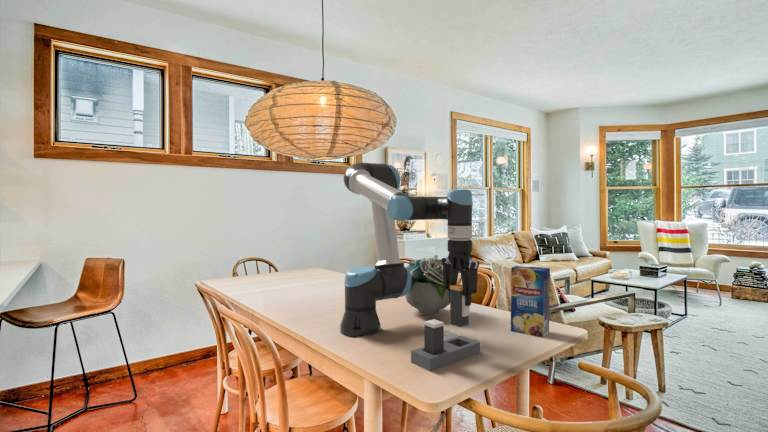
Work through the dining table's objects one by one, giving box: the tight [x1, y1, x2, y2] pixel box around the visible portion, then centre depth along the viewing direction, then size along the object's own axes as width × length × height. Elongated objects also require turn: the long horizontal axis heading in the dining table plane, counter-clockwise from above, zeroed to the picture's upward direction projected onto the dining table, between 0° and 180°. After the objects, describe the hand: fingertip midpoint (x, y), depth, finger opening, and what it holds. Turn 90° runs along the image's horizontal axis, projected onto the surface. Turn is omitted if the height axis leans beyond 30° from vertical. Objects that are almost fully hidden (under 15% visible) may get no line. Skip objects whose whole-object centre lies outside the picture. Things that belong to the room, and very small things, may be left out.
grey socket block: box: [410, 335, 481, 372], centre depth 124 cm, size 8×22×4 cm, turn 128°
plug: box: [449, 283, 470, 328], centre depth 127 cm, size 4×4×12 cm
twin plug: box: [423, 318, 445, 355], centre depth 120 cm, size 4×4×12 cm
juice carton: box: [510, 264, 551, 338], centre depth 151 cm, size 12×8×24 cm, turn 53°
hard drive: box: [444, 331, 459, 341], centre depth 144 cm, size 2×8×12 cm
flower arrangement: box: [404, 257, 450, 316], centre depth 176 cm, size 25×25×24 cm
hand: (459, 314), depth 127 cm, fingers closed on plug, 4 cm apart
